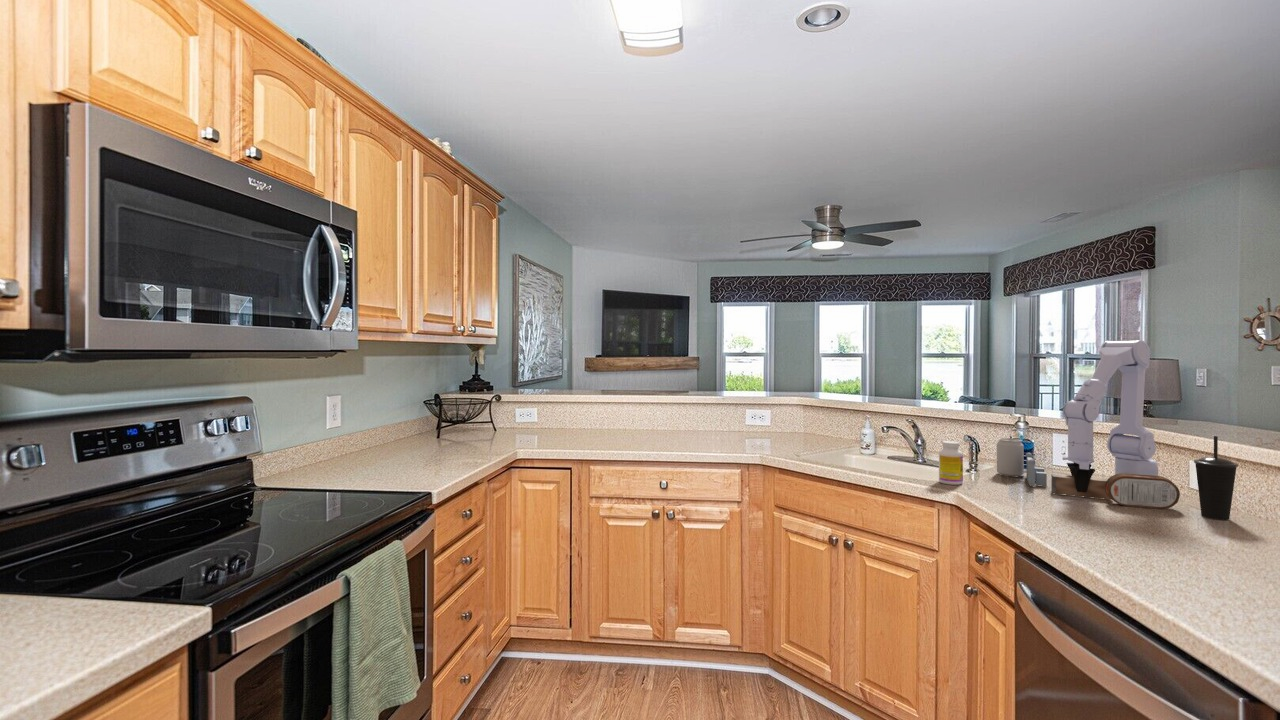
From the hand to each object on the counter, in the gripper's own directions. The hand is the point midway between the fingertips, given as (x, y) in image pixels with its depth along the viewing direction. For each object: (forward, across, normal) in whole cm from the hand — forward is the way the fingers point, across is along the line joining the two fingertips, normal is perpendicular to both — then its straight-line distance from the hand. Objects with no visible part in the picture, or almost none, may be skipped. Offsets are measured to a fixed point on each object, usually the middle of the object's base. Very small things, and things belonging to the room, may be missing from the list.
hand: (1080, 490), depth 161 cm
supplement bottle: (+2, 0, -32) cm, 32 cm away
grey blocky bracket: (+1, -12, -10) cm, 15 cm away
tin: (+2, +7, +12) cm, 14 cm away
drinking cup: (+2, +11, +25) cm, 27 cm away
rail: (+1, 0, 0) cm, 1 cm away
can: (+2, -21, -16) cm, 26 cm away
